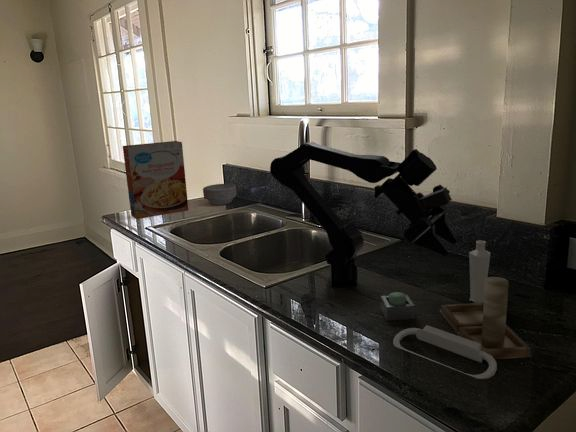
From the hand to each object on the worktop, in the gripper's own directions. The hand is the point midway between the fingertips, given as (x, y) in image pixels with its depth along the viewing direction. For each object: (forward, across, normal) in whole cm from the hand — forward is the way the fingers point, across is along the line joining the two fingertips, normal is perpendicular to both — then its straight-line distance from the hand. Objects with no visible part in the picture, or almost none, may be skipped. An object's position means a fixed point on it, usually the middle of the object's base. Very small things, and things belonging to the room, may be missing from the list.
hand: (451, 248), depth 115 cm
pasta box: (-84, +43, +102) cm, 139 cm away
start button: (+2, -14, +14) cm, 20 cm away
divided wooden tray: (+16, -15, +2) cm, 22 cm away
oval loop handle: (+12, -27, +6) cm, 30 cm away
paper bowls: (-74, +68, +92) cm, 136 cm away
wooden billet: (+17, -20, 0) cm, 26 cm away
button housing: (+3, -14, +15) cm, 21 cm away
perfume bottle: (+14, 0, +5) cm, 14 cm away
